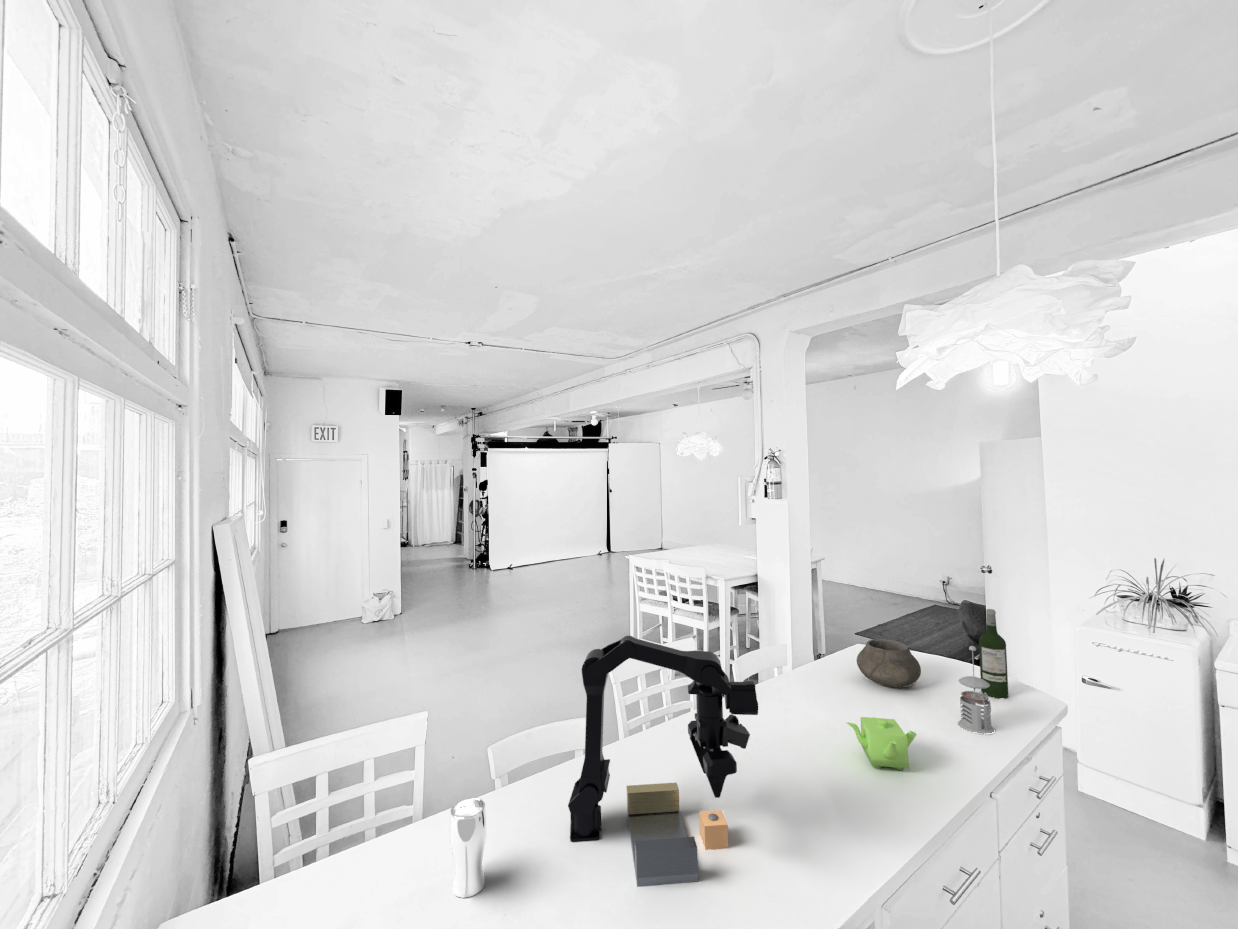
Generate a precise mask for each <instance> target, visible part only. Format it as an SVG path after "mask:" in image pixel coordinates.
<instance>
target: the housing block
mask: <svg viewBox="0 0 1238 929" xmlns="http://www.w3.org/2000/svg"><path fill="white" fill-rule="evenodd" d="M698 813H699V817H698V818H699V836H700V838H701V841H703V842H702V844H703V847H705V848H704V849H705V851H707V850H708V849H709V850H710V849H711V850H721V849H723V850H724V849H729V826H728V822H727V819H726V817H725V815H724V812H723V810H722V809H717V810H716V809H715V810H713V809H712V810H702V811H698ZM709 850H708V851H709Z"/></svg>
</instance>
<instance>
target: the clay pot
mask: <svg viewBox="0 0 1238 929" xmlns="http://www.w3.org/2000/svg"><path fill="white" fill-rule="evenodd" d="M856 665H857V668H858V669H859V671H860V672H861V674H863V675H864V677H865V678H867V679H868V680H870V681H871V682H873V683H876V684H878V685H881V686H884V687H887V688H888V687H889V688H904V687H909V686H912V685H913V684H915V683H917V681H918V680H919V679H920V677H921V674H922V666H921V665H920V662H919V661H918V659H917V658H916V657H915V656H914V655H913V654H912V652H911V650H910V648H909V646H908V645H907V644H905V643H903V642H899V641H897V640H893V639H886V638H877V639H876V638H875V639H874V638H873V639H869V640H868V641H867V642H866V643H865V645H864V647H863V648H862V649H861V650H860V652H858V654H857V657H856Z"/></svg>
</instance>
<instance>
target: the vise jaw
mask: <svg viewBox="0 0 1238 929" xmlns="http://www.w3.org/2000/svg"><path fill="white" fill-rule="evenodd" d="M627 811H628V814H643V813H658V812H673V811H679V812H680V789H679V785H678V782H663V783H651V784H649V783H648V784H635V785H633V784H631V785H626V812H627Z"/></svg>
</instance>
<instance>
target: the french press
mask: <svg viewBox="0 0 1238 929" xmlns="http://www.w3.org/2000/svg"><path fill="white" fill-rule="evenodd" d="M968 650H969V651H972V652H971V654H972V655H971V656H972V672H973V674H972V675H973V676H972V675H966V676H963V677H960V678H959V679H958V682H959V683H960V684H961V685H963V686H965V687H968V688H971V689H972V688H973V690H965V691H962V692H960V695H961V696H960V697H959V702H960V703H959V705H961V706H960V713H961V714H960V717H961V718H960V720H959V721H958V722H957V725H958V727H959V726H960V728H961V729H962V728H963V729H962V730H964V729H965V730H964V731H966V730H967V732H969V731H971V732H970V733H972V732H977V733H983V734H984V733H985V734H986V733H992V732H994V729H995V728H994V727H993V726H992V715H991V713H992V703H991V700H990V697H989V696H988V695H987V694H986V693H984V694H983V693H982V692H977V691H976V689H977V690H979V689H980V690H981V689H986V688H988V687H989V686H990V684H989V683H988V682H986V681H985V680H983V679H981V677H977V676H975V665H974V664H975V663H974V661H975V660H974V651H975V652H976V651H977V647H976V646H974V645H970V646H969V647H968ZM985 694H986V695H987V696H986V695H985ZM977 704H978V705H977ZM981 705H982V706H981ZM983 734H982V735H983Z"/></svg>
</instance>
